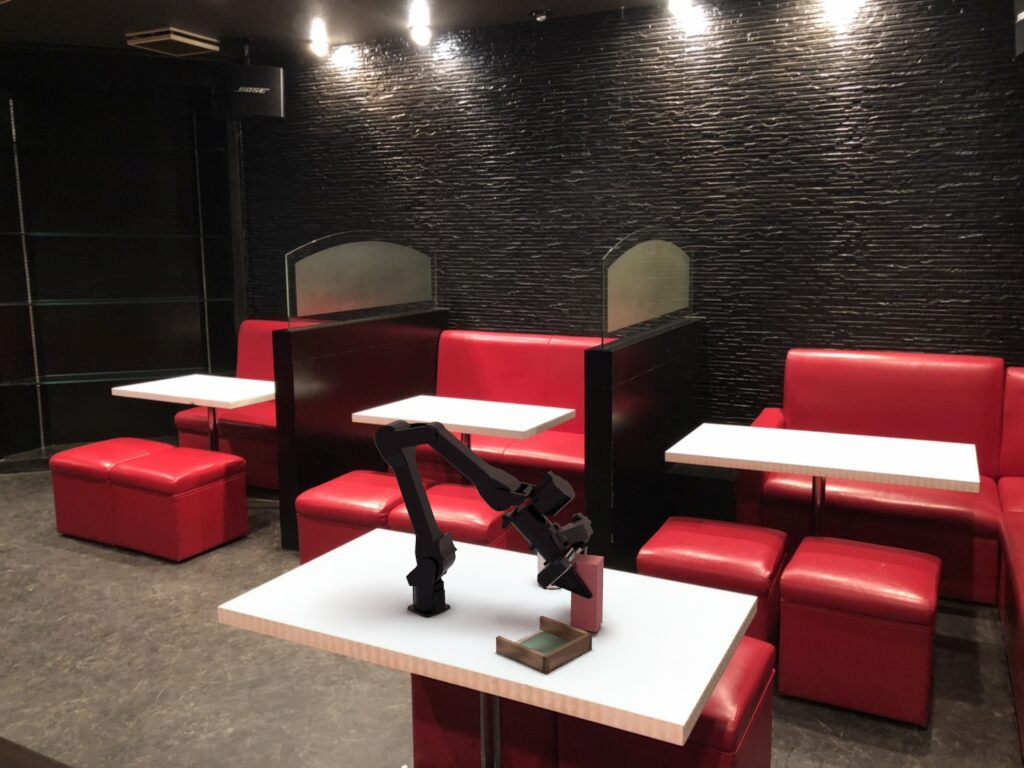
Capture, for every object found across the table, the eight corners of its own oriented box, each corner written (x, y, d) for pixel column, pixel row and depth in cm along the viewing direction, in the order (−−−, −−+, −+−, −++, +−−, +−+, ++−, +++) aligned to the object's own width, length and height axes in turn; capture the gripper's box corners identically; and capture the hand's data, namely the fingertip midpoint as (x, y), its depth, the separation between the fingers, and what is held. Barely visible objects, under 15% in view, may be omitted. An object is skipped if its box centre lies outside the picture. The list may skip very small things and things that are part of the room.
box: (496, 652, 152) (495, 637, 152) (542, 630, 161) (542, 615, 161) (546, 674, 144) (546, 657, 144) (591, 649, 153) (591, 633, 153)
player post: (570, 628, 160) (571, 561, 158) (577, 618, 164) (578, 553, 163) (596, 631, 158) (597, 564, 157) (602, 621, 163) (603, 556, 161)
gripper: (553, 518, 151) (614, 584, 149) (579, 491, 168) (633, 550, 166) (512, 556, 154) (570, 621, 152) (541, 526, 172) (594, 584, 170)
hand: (594, 592), depth 160 cm, fingers closed on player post, 5 cm apart
